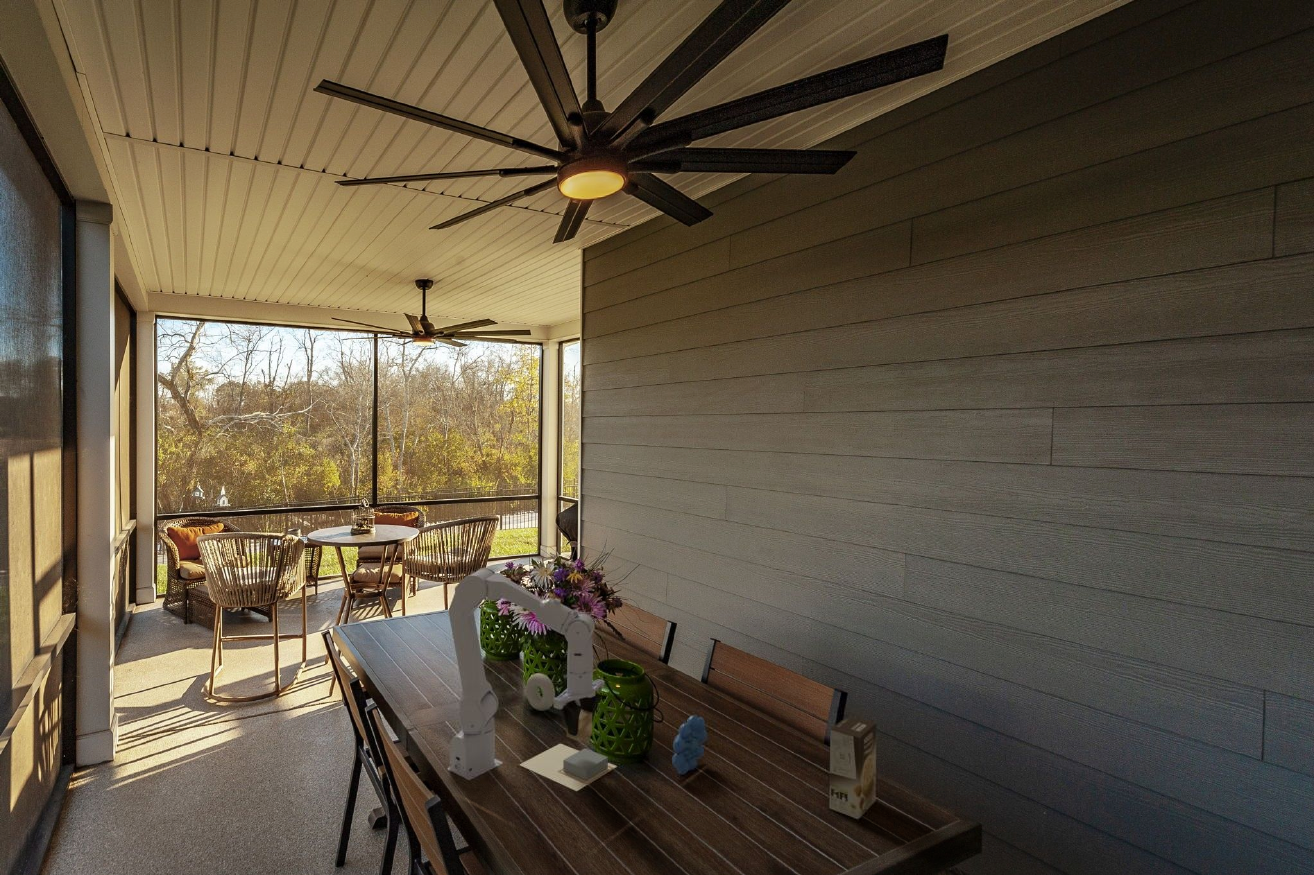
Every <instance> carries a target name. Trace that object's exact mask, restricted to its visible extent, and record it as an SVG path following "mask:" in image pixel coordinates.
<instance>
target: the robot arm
mask: <svg viewBox="0 0 1314 875" xmlns="http://www.w3.org/2000/svg"><path fill="white" fill-rule="evenodd" d="M485 599H486V600H487V601H496V600H501V599H503V600H506V601H508V602H510V603H513V604H514V605H517V606H519V607H520V608H522V609H525V610H527V611H529V612H532V613H533V614H535V617H536V620H537V622H539V623H540V624H542V625H544V626H546V627H547V628H549V629H551V630H553V631H555V632H557V633H558V634H561V635H564V638H565V640H566V641H567V652H566V653H567V656H566V657H567V658H566V661H567V662H566V665H567V666H566V668H567V669H566V670H567V671H566V676H567V677H566V678H567V679H566V680H567V681H566V684H567V685H566V687H567V688H566V689H564V690H563V692H562V693H560V694H559V695H558V696H555V698H554V702H553V708H555V709H556V710H560V712H561V714H562V716H563V718H564V721H565V726H566V730H567V729H568V733H569V734H571V735H573V736H576V735H577V733H578V721H579V715H580V712H581V709H582V710H585V711H588V712H591V713H592V723H593V721H594V718H595V713H596V711H597V708H598V706H599V704H600V702H601V700H602V694H600V693H598V691H603V690H602V688H603V687H604V684H605V683H606V682H605V680H603V679H599V678H598V679H597V678H596V680H594V676H593V675H594V648H593V645H594V644H593V636H592V635H593V634H594V631H595V627H596V624H595V620H594V618H593V617H592V616H591V615H589V614H588V613H587V612H585V611H580V612H579V610H578V609H571V608H570V607H569V606H566V605H564V604H562V603H561V599H559V598H557V597H555V598H552V597H551V598H545V599H542V598H540V597H538V596H537V595H535V594H533V593H532V592H530V591H529V590H527V589H526V588H524V587H522V586H521V585H519V584H517V583H516V582H514V581H512V580H510V579H509V578H508V577H506V576H505V575H504V574H502V573H499V572H495V570H493V569H491V568H489V567H482V568H479V569H477V570H476V571H475V572H473V573H471V574H469V575H467V576H465V577H464V578H462V579H461V580H460V582H459V583H458V584H457V585H456V586H455V587H454V595H453V598H452V600H451V602H450V605H449V609H448V617H449V622H450V627H451V634H452V639H453V643H454V648H455V649H454V650H455V654H456V659H457V660H456V661H457V665H458V666H457V667H458V671H459V676H460V681H461V682H460V683H461V694H460V697H459V714H458V717H457V720H458V725H459V728H460V729H461V730H460V731H459V732H458V733H457V734H456V735H454V736H453V737H452V738H451V739H450V743H449V767H447V771H450V772H452V773H455V774H456V775H458V776H460V777H461V778H464V779H466V780H469V781H470V780H472V779H475V778H476V777H478V776H480V775H482V774H485V773H486V772H488V771H490V770H491V769H492V770H493V769H495V768H496V767H498V766H500V765H502V764H504V763H503V761H501V760H499V759H497V758H495V756H496V755H495V754H496V753H495V752H496V751H495V749H496V746H495V745H496V744H495V742H496V740H495V739H496V738H495V736H496V722H495V719H494V715H495V714H496V712H497V711H498V708H499V699H498V696H497V695H496V694H495V693H494V691H493V688H492V685H491V683H490V682H489V681H488V680H487V677H486V673H485V672H486V671H485V668H484V666H485V665H484V663H483V658H482V657H483V656H482V650H481V645H480V639H479V634H478V627H477V623H476V618H475V612H476V610H477V609H478V607H479V606H480V605H481V604H482V602H483V601H484V600H485ZM576 701H579V703H580V705H578V704H577V702H576Z"/></svg>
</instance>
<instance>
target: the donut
mask: <svg viewBox="0 0 1314 875" xmlns="http://www.w3.org/2000/svg"><path fill="white" fill-rule="evenodd" d="M539 688H540V690H541V692H542V696H541V695H540V693H539ZM525 694H526V697H527V700H528V702H529V704H530V706H531V707H533V708H534V709H535V710H537V711H541V712H542V711H543V712H544V711H547V710H549V709H550V708H551V707H552V706H553V705H554V698H556V690H555V687H554V683H553V681H552V680H551V679H550V678H549V677H548V675H546V674H544V673H538V672H537V673H534V674H531V675H530V677H529V678H528V679H527V682H526V686H525Z"/></svg>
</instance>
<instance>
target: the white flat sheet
mask: <svg viewBox="0 0 1314 875" xmlns="http://www.w3.org/2000/svg"><path fill="white" fill-rule="evenodd" d="M579 751H580V750H577V749H575V748H574V747H573V748H572V747H570V746H567V745H565V744H563V743H558V744H557V745H555V746H553V747H551V748H549V749H547V750H545V751H543V752H541V753H539V754H537V755H534V756H533V757H531V758H530V759H527V760H525V761H524V762H522V763H519V766H520V767H523V768H525V769H528V770H529V771H532V772H534V773H536V774H538V775H540V776H542V777H544V778H547V779H549V780H551V781H554V782H555V783H558V784H561V785H562V786H564V787H566V788H568V789H571V790H573V791H575V792H578V791H580V790H581V789H583V788H584V787H586V786H588V785H590V784H592V782H593V783H594V781H596V780H598V779H599V778H602V776H604V775H605V774H608V773H609V772H611V771H612V770H614V769H615V768H617V767H618V766H617V765H615V764H612V763H610V762H608V769H606V770H605V771H603V772H601V773H600V774H598V775H596V776H595V777H593V778H591V779H590V780H588V781H584V780H582V779H580V778H577V777H575V776H573V775H570V774H568V773H566V772H564V771H563V760H564V759H566V758H568V757H570V756H572V755H573V754H575V753H577V752H579Z"/></svg>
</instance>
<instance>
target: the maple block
mask: <svg viewBox="0 0 1314 875" xmlns="http://www.w3.org/2000/svg"><path fill="white" fill-rule="evenodd" d="M592 735H593V722H592V713H591V712H588V711H585V710H582V709H581V712H580V715H579V721H578V733H577V735H576V736H573V735H571V734H569V733H568V729H567V728H566V738H569V739H572V740H573V741H574V740H575V741H577V742H582V741H584V740H585V739H588V738H589V737H591V736H592Z"/></svg>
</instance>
